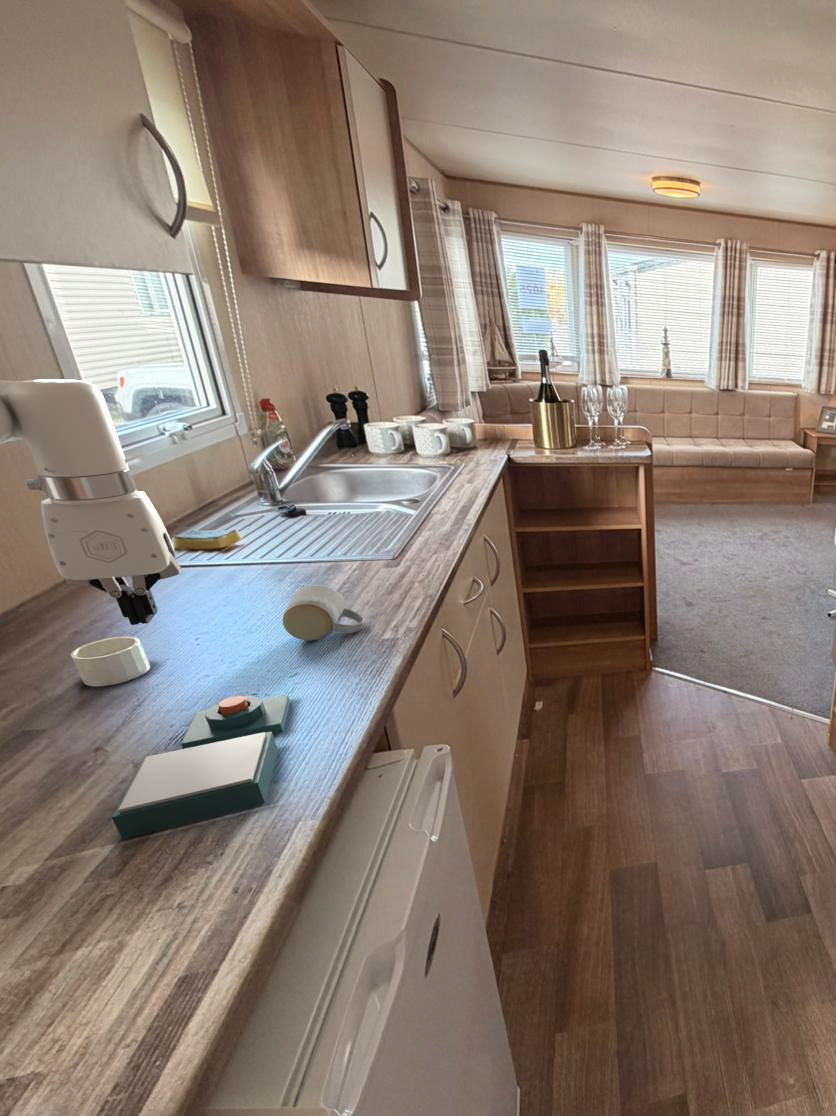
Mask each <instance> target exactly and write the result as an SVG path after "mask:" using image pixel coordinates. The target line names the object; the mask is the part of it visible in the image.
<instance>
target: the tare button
mask: <svg viewBox="0 0 836 1116" xmlns="http://www.w3.org/2000/svg"><path fill="white" fill-rule="evenodd" d="M244 696H245V695H244ZM244 696H243V695H234V696H230V697H229V696H228V697H227V698H224V699H222V700H221V701H219V702H218V703H219V704H218V703H217V704H218V707H219V709H220V712H221V714H222V715H229V714H234V713H238V712H240V711H243V710H245V709H246V708H248V704H247V701H246V698H245V697H244Z"/></svg>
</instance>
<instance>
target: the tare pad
mask: <svg viewBox="0 0 836 1116" xmlns="http://www.w3.org/2000/svg"><path fill="white" fill-rule="evenodd" d="M244 697H245V698H246V701H247V704H248V708H246V709H245V710H243V711H240V712H238V713H234V714H229V715H222V714H221V712H220V709H219V707H218V704H219V702H218V703H216V704H214V705H213V706H211V707H210V708H209V709H205V710H199V711H196V712H195V713H194V716H193V718H192V720H191V722H190V724H189V726H188V728H187V730H186V732H185V734H184V736H183V739H182V740H181V743H180V745H181V749H186V748H191V747H196V746H200V745H205V744H210V743H215V742H220V741H224V740H229V739H234V738H239V737H244V736H248V735H253V734H258V733H263V732H265V733H267V732H272V734H278V733H283V732H284V729H285V725H286V721H287V717H288V713H289V710H290V706H291V701H290V697H289V695H288V694H284V695H279V696H273V697H268V698H260V697H258V696H256V695H244Z"/></svg>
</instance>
